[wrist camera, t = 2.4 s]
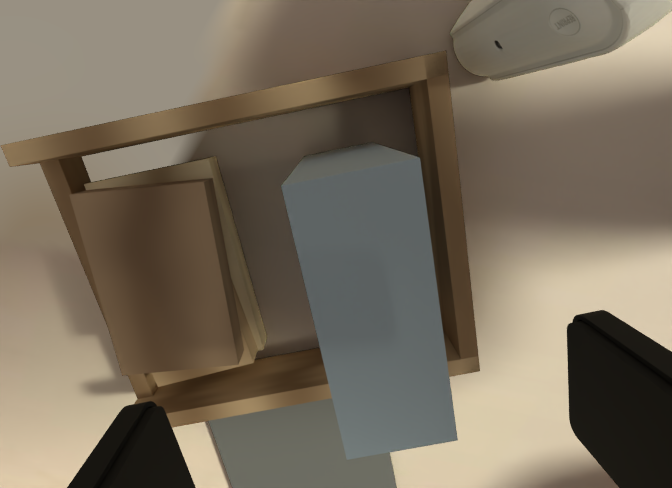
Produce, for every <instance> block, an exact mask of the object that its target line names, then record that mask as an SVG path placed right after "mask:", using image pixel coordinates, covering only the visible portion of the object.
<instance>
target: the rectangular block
mask: <svg viewBox="0 0 672 488" xmlns="http://www.w3.org/2000/svg"><path fill="white" fill-rule="evenodd" d="M281 188H282V192H283V196H284V201H285V205H286V209H287V213H288V217H289V221H290V225H291V230H292V234H293V238H294V242H295V246H296V250H297V255H298V259H299V263H300V267H301V271H302V275H303V280H304V284H305V288H306V292H307V296H308V300H309V304H310V309H311V313H312V317H313V321H314V325H315V329H316V334H317V338H318V342H319V346H320V350H321V354H322V359H323V363H324V367H325V371H326V375H327V379H328V383H329V388H330V392H331V396H332V400H333V404H334V408H335V413H336V417H337V421H338V425H339V429H340V433H341V438H342V442H343V446H344V450H345V454H346V458H347V460H349V459H355V458H360V457H366V456H371V455H377V454H383V453H388V452H394V451H400V450H405V449H411V448H417V447H422V446H428V445H434V444H439V443H445V442H450V441H456V440H458V439H457V432H456V424H455V417H454V409H453V402H452V394H451V387H450V379H449V372H448V364H447V357H446V349H445V342H444V334H443V327H442V319H441V312H440V304H439V297H438V289H437V282H436V274H435V267H434V259H433V252H432V244H431V237H430V229H429V222H428V214H427V207H426V199H425V192H424V184H423V177H422V169H421V162H420V157H416V156H413V155H410V154H407V153H404V152H401V151H398V150H395V149H392V148H388V147H385V146H382V145H379V144H376V143H373V142H371V143H366V144H361V145H357V146H352V147H347V148H342V149H337V150H332V151H328V152H323V153H318V154H313V155H308V156H304V157H303V159H302V160H301V161H300V163H299V164H298V165H297V166H296V168H295V169H294V170H293V171H292V173H291V174H290V175H289V176H288V178H287V179H286V180H285V181H284V183H283V184H282V185H281Z"/></svg>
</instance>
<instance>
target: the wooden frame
mask: <svg viewBox="0 0 672 488" xmlns="http://www.w3.org/2000/svg"><path fill="white" fill-rule="evenodd" d="M404 88H409V91H410V98H411V106H412V113H413V120H414V128H415V135H416V143H417V150H418V157H420V162H421V169H422V177H423V184H424V192H425V199H426V207H427V214H428V222H429V229H430V237H431V244H432V252H433V259H434V267H435V274H436V282H437V289H438V297H439V304H440V312H441V319H442V327H443V334H444V342H445V349H446V357H447V364H448V372H449V377H450V376H456V375H461V374H467V373H472V372H478V371H480V367H479V358H478V348H477V339H476V329H475V320H474V310H473V301H472V291H471V282H470V272H469V263H468V253H467V244H466V235H465V225H464V216H463V206H462V197H461V187H460V178H459V168H458V159H457V149H456V140H455V130H454V121H453V111H452V102H451V92H450V83H449V73H448V64H447V55H446V51H442V52H437V53H432V54H428V55H423V56H418V57H413V58H409V59H404V60H399V61H395V62H390V63H385V64H381V65H376V66H371V67H367V68H362V69H357V70H352V71H348V72H343V73H338V74H334V75H329V76H324V77H320V78H315V79H310V80H306V81H301V82H296V83H291V84H287V85H282V86H277V87H273V88H268V89H263V90H259V91H254V92H249V93H245V94H240V95H235V96H230V97H226V98H221V99H216V100H212V101H207V102H202V103H198V104H193V105H188V106H184V107H179V108H174V109H169V110H165V111H161V112H155V113H151V114H146V115H141V116H137V117H132V118H127V119H123V120H118V121H113V122H108V123H104V124H99V125H94V126H90V127H85V128H81V129H76V130H72V131H66V132H62V133H57V134H52V135H48V136H43V137H38V138H33V139H29V140H25V141H19V142H15V143H10V144H5V145H1V148H2V150H3V152H4V154H5V157H6V159H7V161H8V164H9V166H10V167H12V166H20V165H28V164H36V163H40V165H41V167H42V169H43V172H44V174H45V177H46V179H47V181H48V184H49V186H50V189H51V191H52V194H53V196H54V199H55V201H56V203H57V205H58V208H59V211H60V213H61V215H62V218H63V220H64V223H65V225H66V227H67V230H68V232H69V235H70V237H71V239H72V242H73V244H74V247H75V249H76V252H77V254H78V256H79V259H80V261H81V264H82V266H83V268H84V271H85V273H86V276H87V278H88V280H89V283H90V285H91V288H92V290H93V292H94V295H95V297H96V300H97V302H98V305H99V307H100V309H101V312H102V314H103V317H104V319H105V321H106V318H105V315H104V312H103V308H102V305H101V301H100V298H99V295H98V291H97V288H96V284H95V281H94V278H93V274H92V271H91V267H90V264H89V260H88V257H87V254H86V250H85V247H84V243H83V240H82V237H81V233H80V230H79V226H78V223H77V220H76V216H75V213H74V209H73V206H72V203H71V199H70V196H69V195H70V194H74V193H78V192H82V191H86V188H85V186H84V184H87V183H91V181H90V178H89V176H88V173H87V171H86V168H85V165H84V162H83V160H82V157H81V156H86V155H91V154H96V153H100V152H105V151H110V150H114V149H119V148H124V147H129V146H133V145H138V144H143V143H147V142H152V141H156V140H162V139H167V138H172V137H176V136H181V135H186V134H191V133H195V132H200V131H205V130H210V129H214V128H219V127H224V126H229V125H233V124H238V123H243V122H248V121H252V120H257V119H262V118H267V117H271V116H276V115H281V114H286V113H290V112H295V111H300V110H305V109H309V108H314V107H319V106H324V105H328V104H333V103H338V102H343V101H347V100H352V99H357V98H362V97H366V96H371V95H376V94H381V93H385V92H390V91H395V90H400V89H404ZM106 324H107V322H106ZM107 326H108V325H107ZM128 377H129V379H130V382H131V384H132V386H133V389H134V391H135V394H136V396H137V398H138V399H137V401H136V402H135V404H138V403H143V402H148V401H152V402H154V403H155V404H156V405H157V406H162V407H163V408H164V410H165V412H166V414H167V417H168V419H169V422H170V424H171V427H177V426H182V425H188V424H193V423H199V422H204V421H210V420H215V419H221V418H226V417H232V416H237V415H243V414H248V413H253V412H259V411H264V410H270V409H275V408H281V407H286V406H292V405H297V404H303V403H308V402H314V401H319V400H325V399H330V398H332V396H331V392H330V388H329V383H328V379H327V375H326V371H325V367H324V363H323V359H322V354H321V350H320V348H316V349H310V350H305V351H300V352H294V353H289V354H284V355H278V356H273V357H268V358H262V359H257V360H254V363H251V364H247V365H243V366H239V367H235V368H232V369H228V370H224V371H220V372H216V373H212V374H208V375H204V376H200V377H196V378H192V379H188V380H184V381H180V382H176V383H172V384H168V385H164V386H160V387H158V385H157V383H156V381H155V379H154V377H153V375H152V373H145V374H134V375H128Z"/></svg>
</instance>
